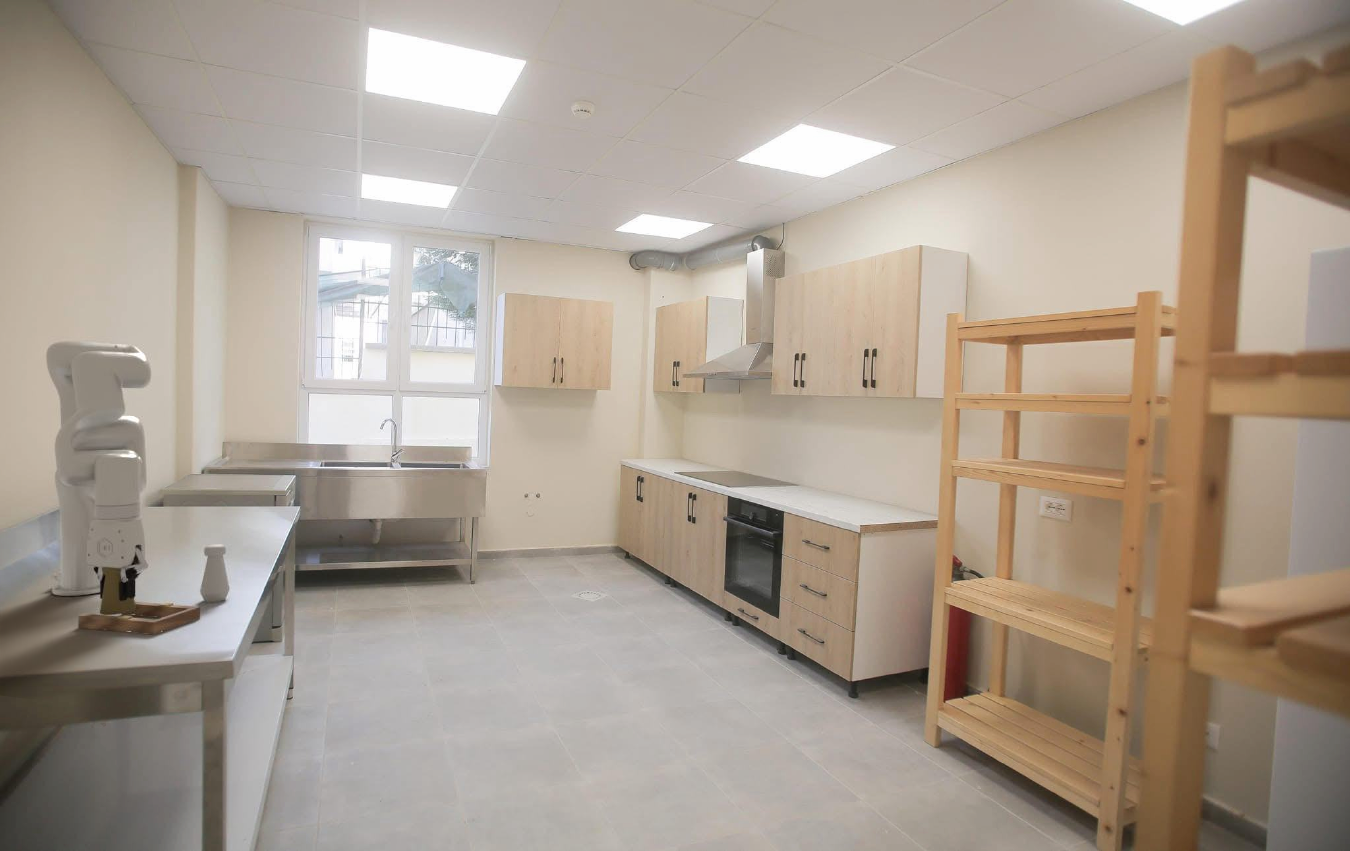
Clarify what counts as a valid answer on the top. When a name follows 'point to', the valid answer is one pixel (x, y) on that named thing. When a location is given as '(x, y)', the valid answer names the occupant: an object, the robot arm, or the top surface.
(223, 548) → the salt shaker
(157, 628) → the wooden u-shaped frame
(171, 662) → the top surface
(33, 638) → the top surface
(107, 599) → the pepper shaker
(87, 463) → the robot arm
